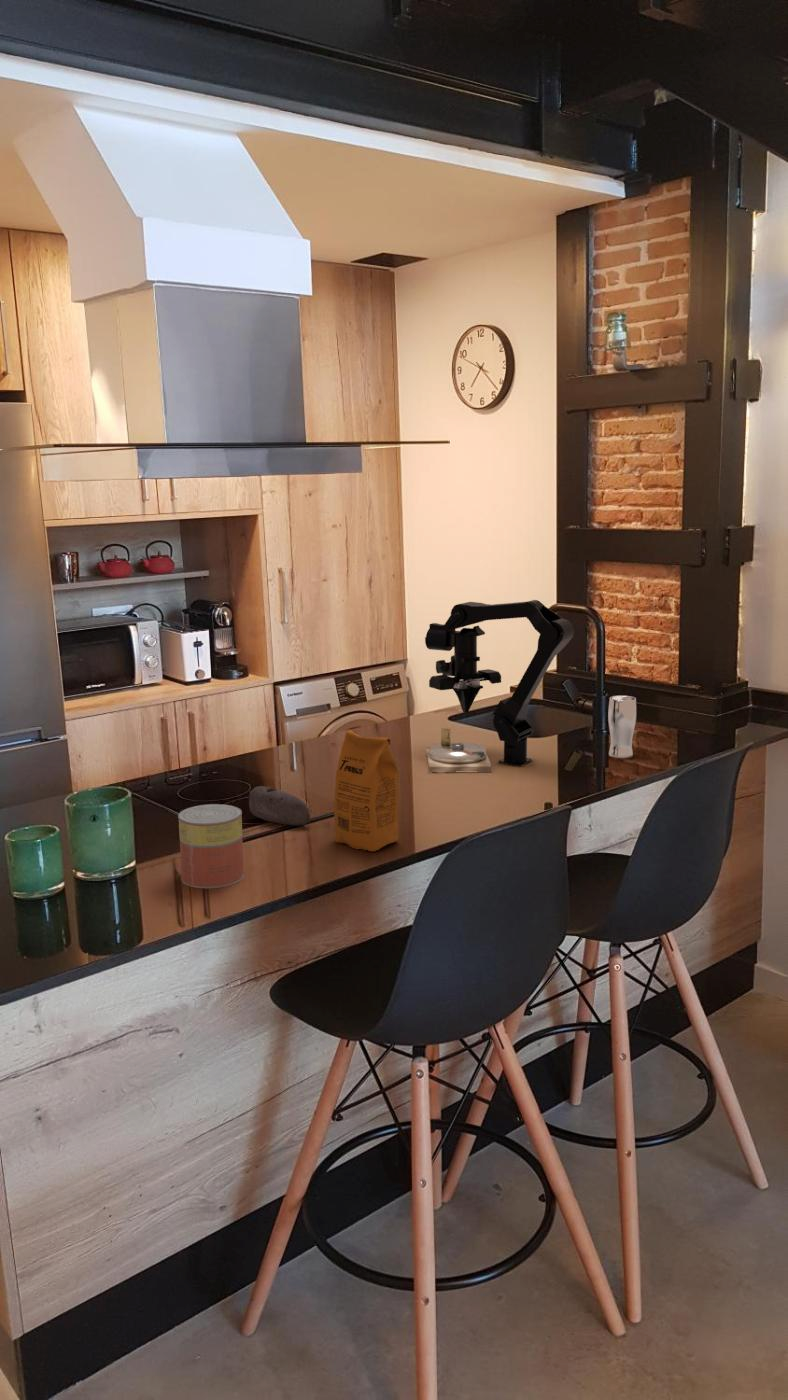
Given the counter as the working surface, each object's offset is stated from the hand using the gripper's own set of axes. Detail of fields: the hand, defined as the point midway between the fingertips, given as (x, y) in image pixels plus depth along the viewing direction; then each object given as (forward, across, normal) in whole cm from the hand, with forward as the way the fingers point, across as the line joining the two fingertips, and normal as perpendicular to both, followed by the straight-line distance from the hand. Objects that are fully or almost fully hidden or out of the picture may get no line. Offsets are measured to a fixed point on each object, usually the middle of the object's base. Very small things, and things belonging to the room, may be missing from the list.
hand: (465, 712), depth 276 cm
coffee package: (+12, +55, +45) cm, 72 cm away
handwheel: (+9, +6, +5) cm, 12 cm away
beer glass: (+12, -33, +22) cm, 41 cm away
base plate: (+11, +6, +5) cm, 14 cm away
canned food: (+11, +87, +46) cm, 99 cm away
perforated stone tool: (+12, +63, +25) cm, 69 cm away
